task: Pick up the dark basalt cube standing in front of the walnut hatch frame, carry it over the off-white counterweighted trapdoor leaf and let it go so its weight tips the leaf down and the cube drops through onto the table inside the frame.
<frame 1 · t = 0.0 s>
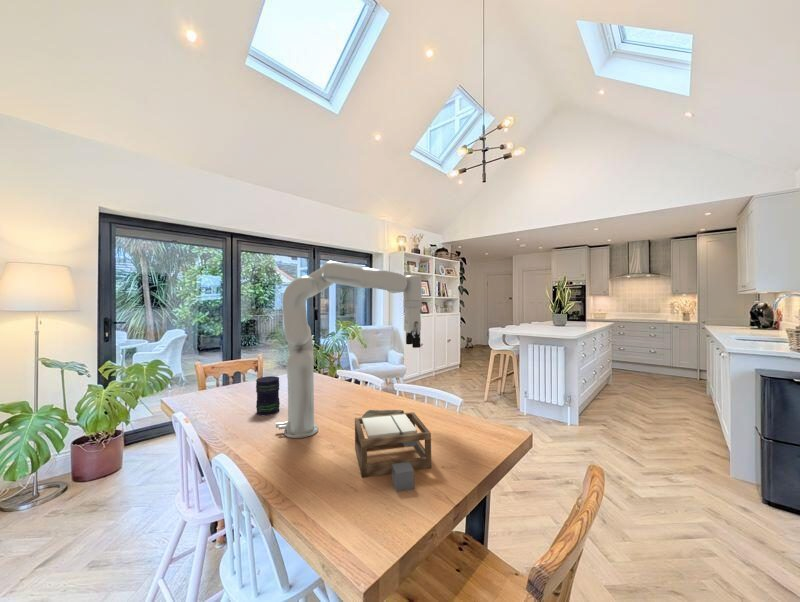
hand: (412, 345, 134), 31 cm above the table, fingers open, 9 cm apart
marble piece: (383, 424, 131), on the table
hatch leaf: (388, 431, 102), point 9 cm above the table, hinge at 0.0°
walnut hatch frame: (390, 457, 103), on the table
basalt block: (402, 485, 88), on the table
storage jar: (268, 412, 146), on the table
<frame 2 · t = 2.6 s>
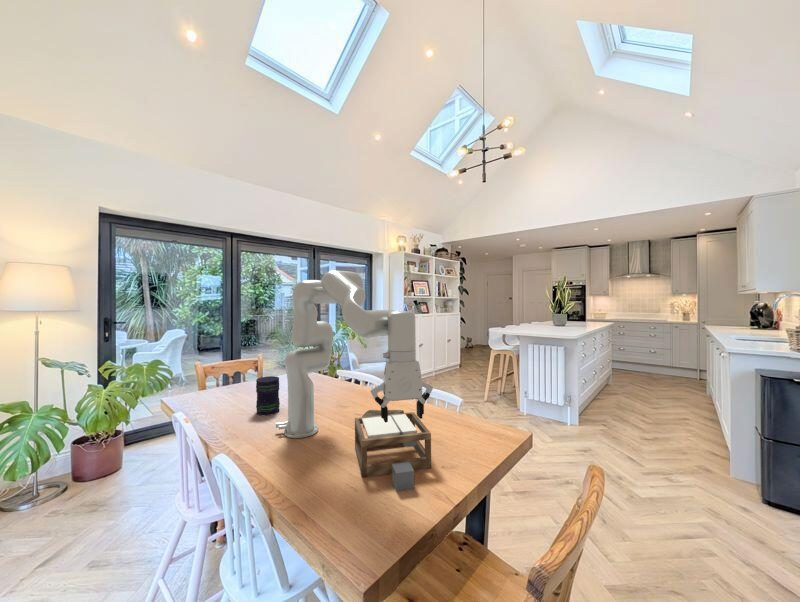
hand: (402, 418, 87), 18 cm above the table, fingers open, 9 cm apart
nothing on the table moved.
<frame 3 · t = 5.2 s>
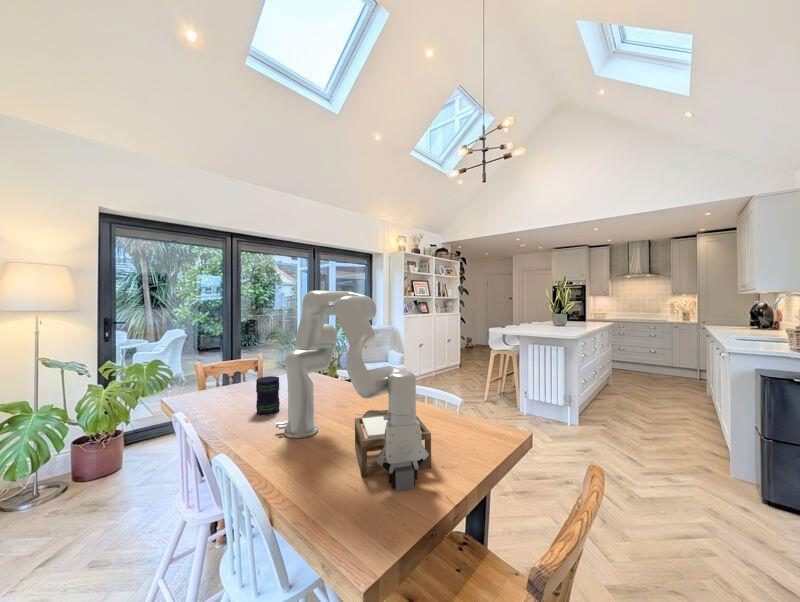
hand: (402, 482, 88), 1 cm above the table, fingers closed on basalt block, 5 cm apart
basalt block: (402, 484, 88), on the table, touching gripper
everything else where it was.
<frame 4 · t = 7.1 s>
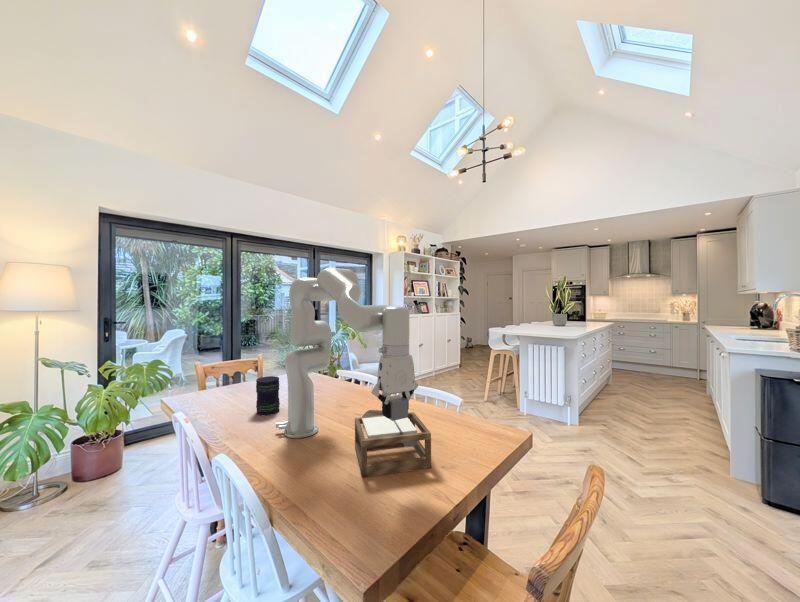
hand: (395, 414, 90), 18 cm above the table, fingers closed on basalt block, 5 cm apart
basalt block: (395, 416, 90), point 18 cm above the table, touching gripper
everything else where it was.
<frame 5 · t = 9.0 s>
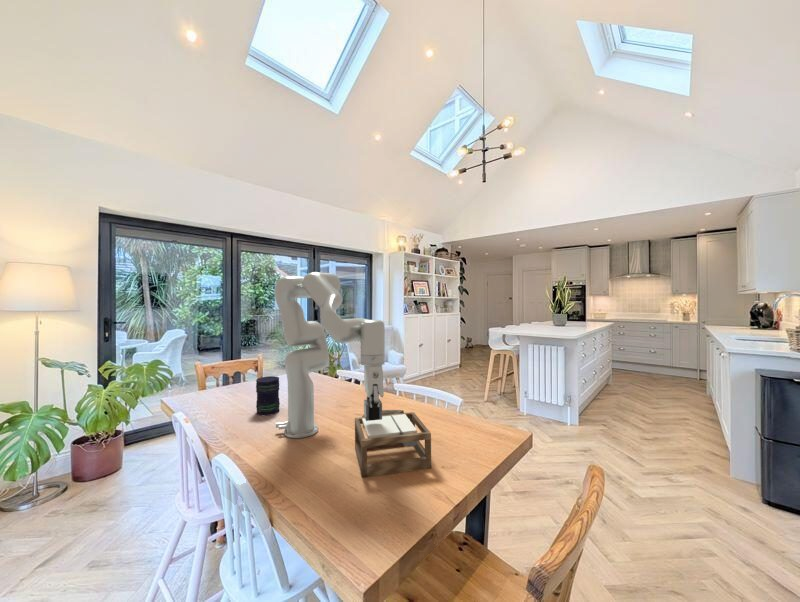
hand: (372, 415, 101), 14 cm above the table, fingers closed on basalt block, 5 cm apart
basalt block: (372, 417, 101), point 13 cm above the table, touching gripper
everything else where it was.
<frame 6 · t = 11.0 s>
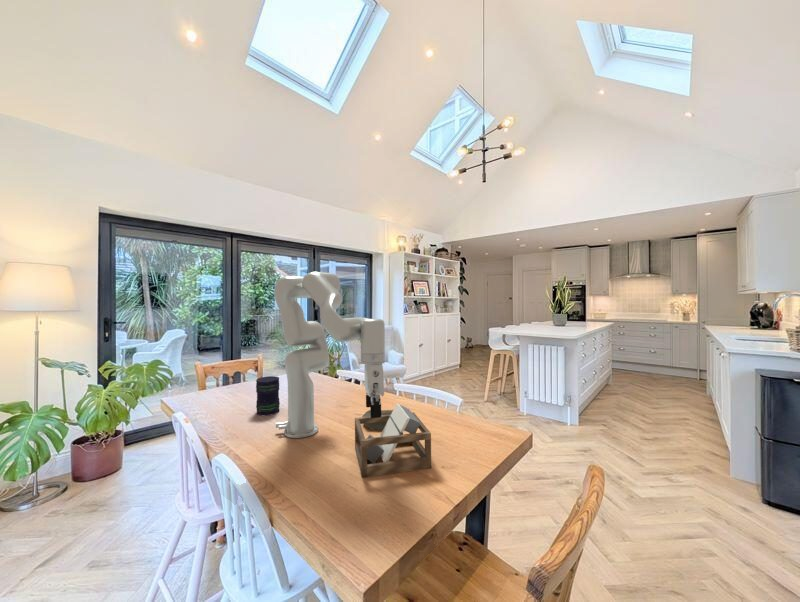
hand: (373, 411, 101), 15 cm above the table, fingers open, 9 cm apart
hatch leaf: (397, 434, 103), point 7 cm above the table, hinge at -60.7°, touching basalt block
basalt block: (377, 453, 102), point 2 cm above the table, tilted 47°, touching hatch leaf
everything else where it was.
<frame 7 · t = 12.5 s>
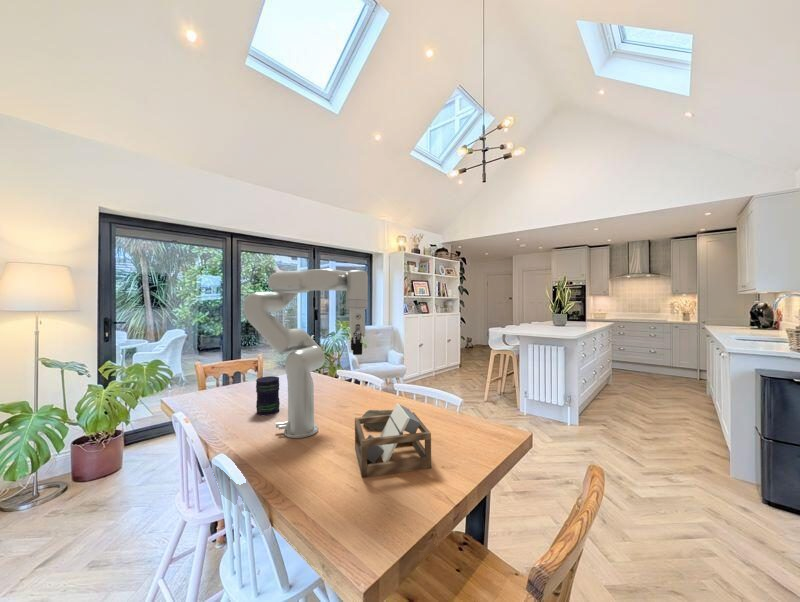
hand: (356, 352, 115), 32 cm above the table, fingers open, 9 cm apart
hatch leaf: (397, 434, 103), point 7 cm above the table, hinge at -60.7°
basalt block: (377, 453, 102), point 2 cm above the table, tilted 47°, touching walnut hatch frame
everything else where it was.
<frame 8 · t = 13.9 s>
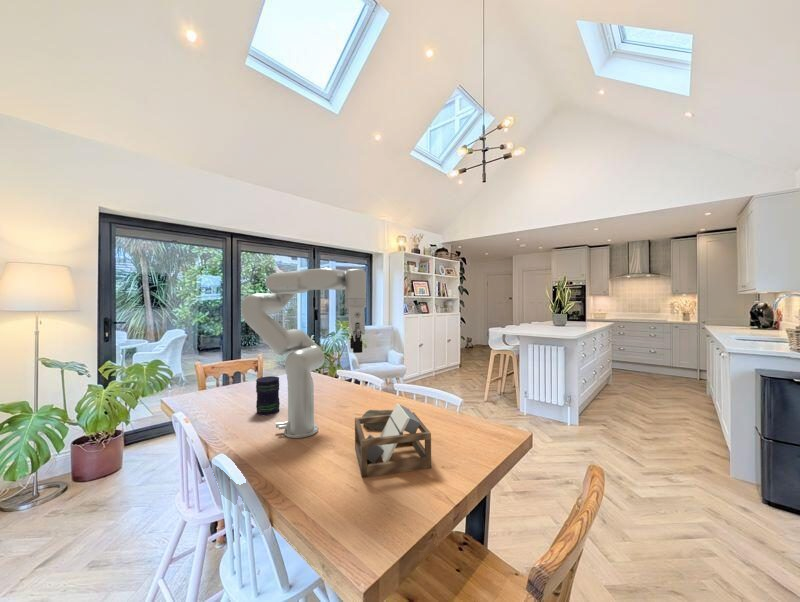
hand: (356, 350, 116), 32 cm above the table, fingers open, 9 cm apart
basalt block: (377, 453, 102), point 2 cm above the table, tilted 47°
everything else where it was.
at the end: basalt block point 1.8 cm above the table; basalt block inside the target area (4.3 cm from its centre), point 1.8 cm above the table; the gripper is holding nothing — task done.
